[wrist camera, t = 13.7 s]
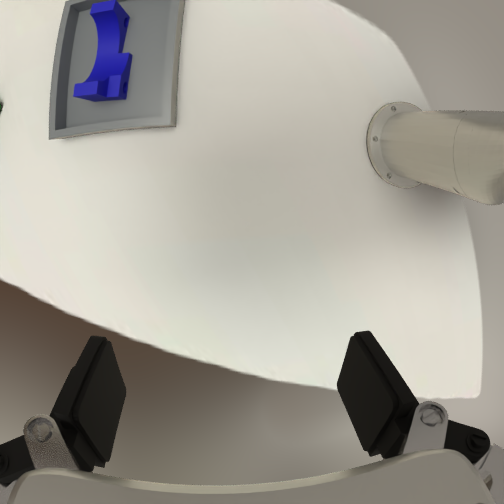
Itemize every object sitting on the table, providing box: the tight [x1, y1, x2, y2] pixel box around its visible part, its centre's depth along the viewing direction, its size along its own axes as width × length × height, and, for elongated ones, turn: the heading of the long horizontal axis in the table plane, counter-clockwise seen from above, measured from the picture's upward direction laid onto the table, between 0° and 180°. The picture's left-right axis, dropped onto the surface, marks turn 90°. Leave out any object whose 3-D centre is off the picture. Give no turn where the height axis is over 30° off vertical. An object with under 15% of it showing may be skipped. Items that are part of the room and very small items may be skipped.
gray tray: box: [49, 0, 185, 140], centre depth 26 cm, size 16×20×4 cm
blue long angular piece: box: [73, 0, 133, 102], centre depth 24 cm, size 12×4×6 cm, turn 174°
